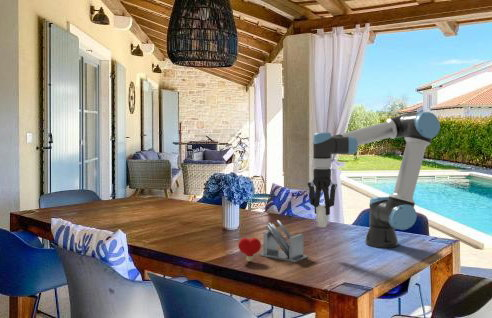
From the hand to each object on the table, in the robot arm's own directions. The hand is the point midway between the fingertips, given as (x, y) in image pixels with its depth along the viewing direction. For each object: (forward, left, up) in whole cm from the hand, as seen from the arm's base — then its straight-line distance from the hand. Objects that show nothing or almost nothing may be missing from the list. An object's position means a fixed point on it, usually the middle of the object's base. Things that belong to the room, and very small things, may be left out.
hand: (322, 221), depth 213 cm
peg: (0, 0, -2) cm, 2 cm away
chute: (+13, +11, -15) cm, 23 cm away
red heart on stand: (+19, +27, -15) cm, 37 cm away
